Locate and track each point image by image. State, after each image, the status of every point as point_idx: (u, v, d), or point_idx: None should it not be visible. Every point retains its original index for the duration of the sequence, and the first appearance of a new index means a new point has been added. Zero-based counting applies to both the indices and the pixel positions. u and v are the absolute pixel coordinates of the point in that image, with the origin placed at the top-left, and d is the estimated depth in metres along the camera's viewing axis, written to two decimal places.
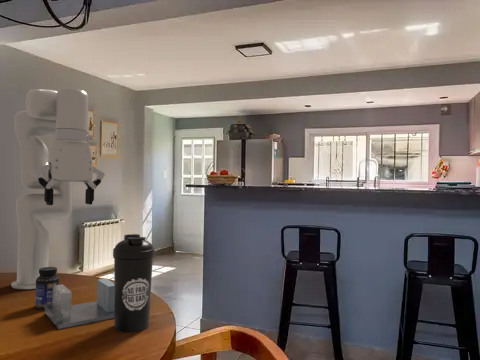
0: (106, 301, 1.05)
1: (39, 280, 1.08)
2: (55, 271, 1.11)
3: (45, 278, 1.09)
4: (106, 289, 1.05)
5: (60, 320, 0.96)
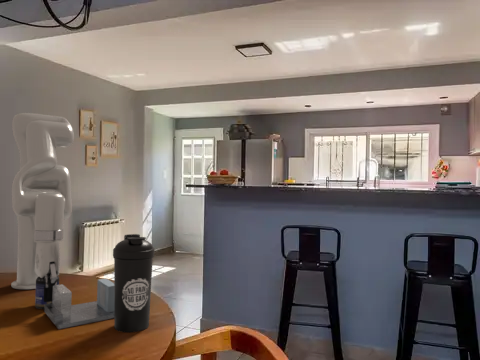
0: (106, 301, 1.05)
1: (39, 280, 1.08)
2: None
3: None
4: (106, 289, 1.05)
5: (60, 320, 0.96)
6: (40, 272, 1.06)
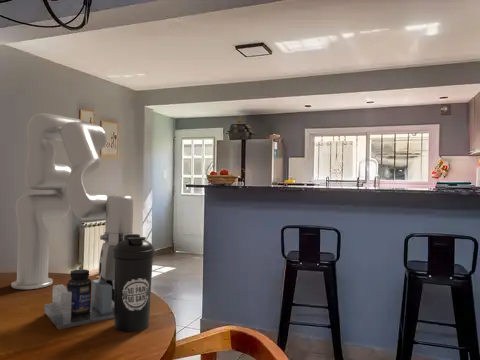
0: (100, 302, 1.04)
1: (71, 284, 1.02)
2: (87, 274, 1.04)
3: (77, 282, 1.02)
4: (101, 289, 1.04)
5: (60, 320, 0.96)
6: None
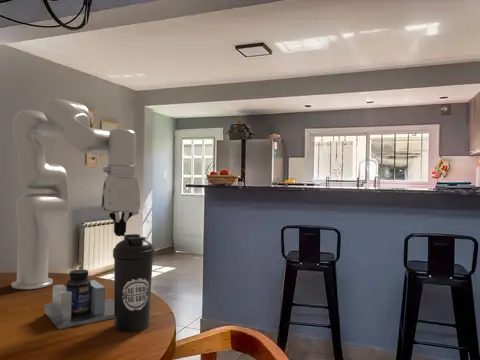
0: (93, 303, 1.03)
1: (70, 284, 1.02)
2: (87, 274, 1.04)
3: (77, 282, 1.02)
4: (94, 290, 1.03)
5: (60, 320, 0.96)
6: (137, 205, 1.11)
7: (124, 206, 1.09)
